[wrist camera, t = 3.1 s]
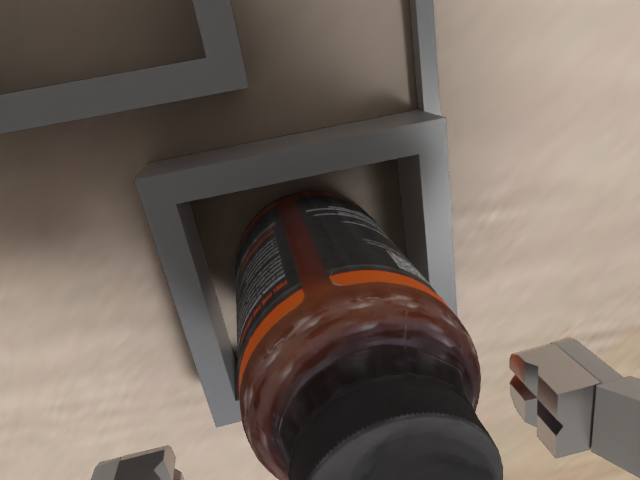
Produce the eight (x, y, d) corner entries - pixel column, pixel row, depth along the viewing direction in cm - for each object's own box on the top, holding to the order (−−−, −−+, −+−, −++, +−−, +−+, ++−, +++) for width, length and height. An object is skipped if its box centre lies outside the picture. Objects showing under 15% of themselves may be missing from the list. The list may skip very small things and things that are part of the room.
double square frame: (403, -342, 13) (455, -467, 10) (448, 329, 21) (483, 374, 18) (-258, -272, 11) (-442, -395, 8) (77, 419, 20) (49, 485, 17)
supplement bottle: (233, 322, 19) (230, 633, 9) (237, 182, 17) (238, 376, 7) (371, 321, 20) (512, 596, 10) (390, 190, 18) (594, 364, 8)
